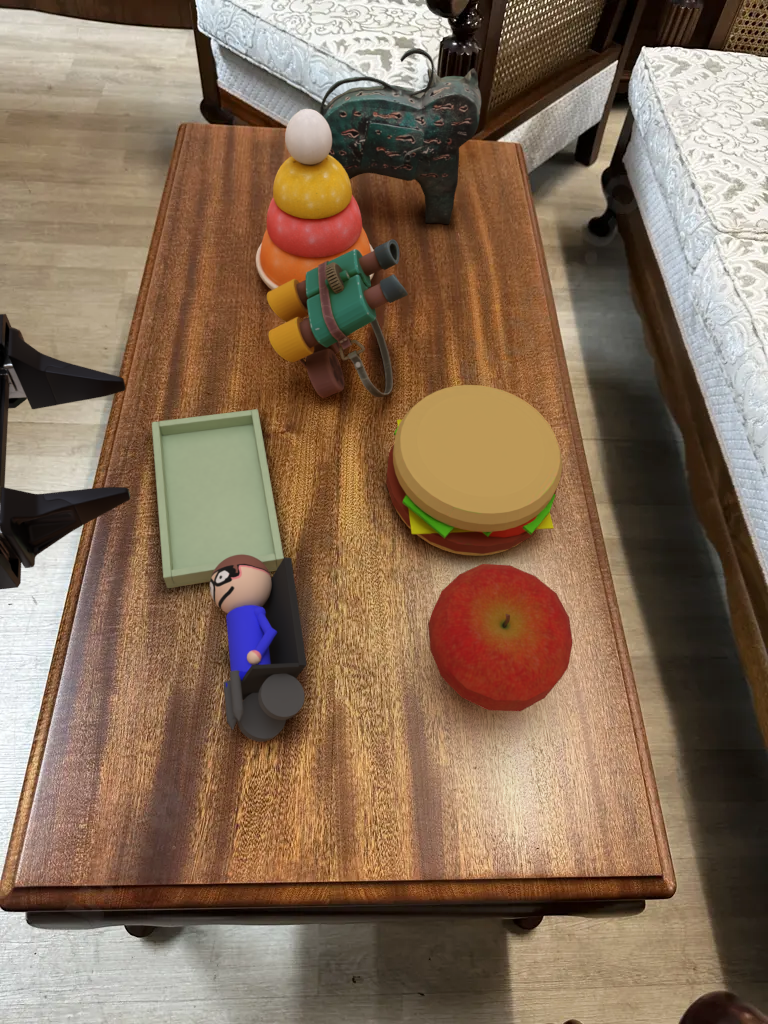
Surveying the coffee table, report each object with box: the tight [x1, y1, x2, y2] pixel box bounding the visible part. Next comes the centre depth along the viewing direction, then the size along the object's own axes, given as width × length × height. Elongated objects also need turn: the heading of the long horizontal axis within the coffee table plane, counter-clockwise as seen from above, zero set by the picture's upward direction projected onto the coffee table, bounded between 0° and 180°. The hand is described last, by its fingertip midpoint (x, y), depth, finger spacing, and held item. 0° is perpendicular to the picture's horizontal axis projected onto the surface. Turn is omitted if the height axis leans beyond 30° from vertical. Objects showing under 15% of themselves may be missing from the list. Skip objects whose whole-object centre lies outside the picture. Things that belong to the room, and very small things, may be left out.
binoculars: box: [266, 238, 409, 399], centre depth 73 cm, size 14×14×15 cm
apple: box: [427, 563, 574, 712], centre depth 56 cm, size 11×11×12 cm
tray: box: [151, 408, 285, 589], centre depth 68 cm, size 10×17×2 cm, turn 13°
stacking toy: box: [255, 108, 375, 291], centre depth 79 cm, size 14×14×20 cm
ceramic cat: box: [319, 47, 482, 225], centre depth 86 cm, size 20×6×20 cm, turn 89°
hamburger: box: [385, 384, 563, 557], centre depth 68 cm, size 16×16×8 cm
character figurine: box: [209, 554, 307, 743], centre depth 58 cm, size 8×7×15 cm
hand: (126, 436), depth 50 cm, fingers open, 9 cm apart
